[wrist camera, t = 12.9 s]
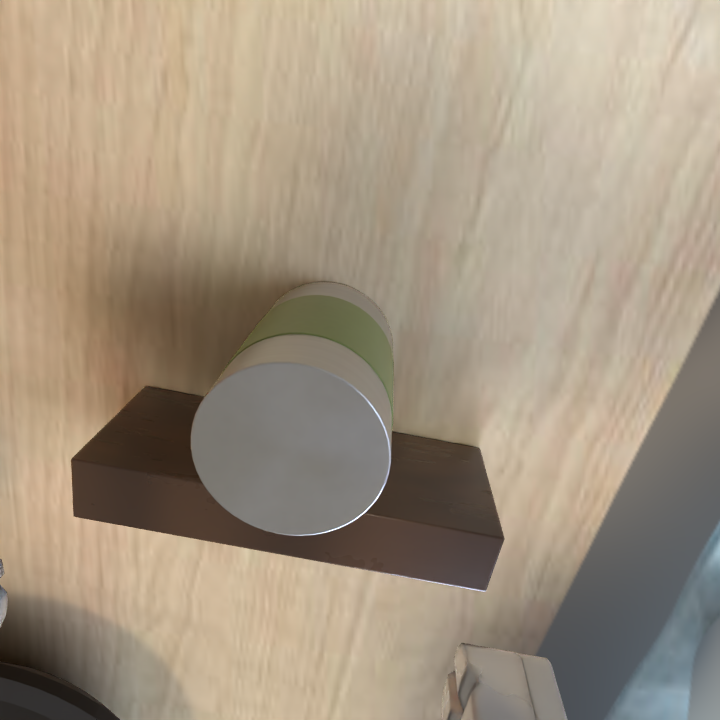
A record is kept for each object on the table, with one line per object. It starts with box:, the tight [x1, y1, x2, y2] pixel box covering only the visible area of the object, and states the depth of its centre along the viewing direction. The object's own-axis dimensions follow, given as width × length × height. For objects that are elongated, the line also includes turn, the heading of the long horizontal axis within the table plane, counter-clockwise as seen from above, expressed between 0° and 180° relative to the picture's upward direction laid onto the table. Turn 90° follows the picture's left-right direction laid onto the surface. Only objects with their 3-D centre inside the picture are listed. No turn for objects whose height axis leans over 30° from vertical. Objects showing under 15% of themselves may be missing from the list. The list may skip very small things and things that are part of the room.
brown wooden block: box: [71, 387, 504, 591], centre depth 26 cm, size 18×6×7 cm, turn 80°
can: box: [191, 282, 394, 536], centre depth 22 cm, size 7×7×10 cm
